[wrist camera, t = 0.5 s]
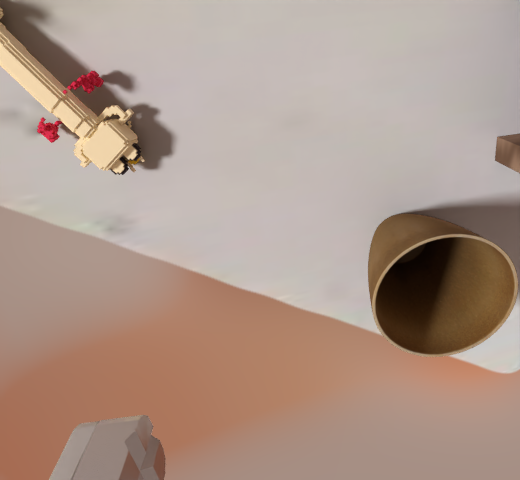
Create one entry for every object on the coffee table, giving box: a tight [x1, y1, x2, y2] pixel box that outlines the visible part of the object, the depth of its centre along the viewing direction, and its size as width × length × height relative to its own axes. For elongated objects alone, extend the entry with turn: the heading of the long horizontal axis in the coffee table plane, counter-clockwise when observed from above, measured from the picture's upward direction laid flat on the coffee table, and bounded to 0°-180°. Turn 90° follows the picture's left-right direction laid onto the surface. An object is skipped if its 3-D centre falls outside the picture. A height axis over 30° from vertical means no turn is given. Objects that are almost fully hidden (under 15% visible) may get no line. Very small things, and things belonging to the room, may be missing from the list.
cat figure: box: [0, 8, 145, 175], centre depth 47 cm, size 10×9×25 cm
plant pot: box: [368, 214, 518, 357], centre depth 51 cm, size 15×15×16 cm
